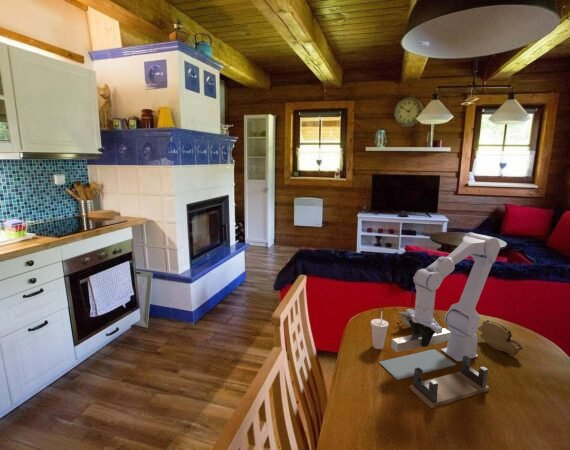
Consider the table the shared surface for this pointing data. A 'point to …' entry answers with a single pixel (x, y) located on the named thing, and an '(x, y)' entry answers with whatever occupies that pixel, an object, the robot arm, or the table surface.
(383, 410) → the table surface
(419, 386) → the rack
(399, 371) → the mat
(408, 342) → the rail
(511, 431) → the table surface
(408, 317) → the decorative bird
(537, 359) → the table surface
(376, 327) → the smoothie
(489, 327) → the wooden carving
